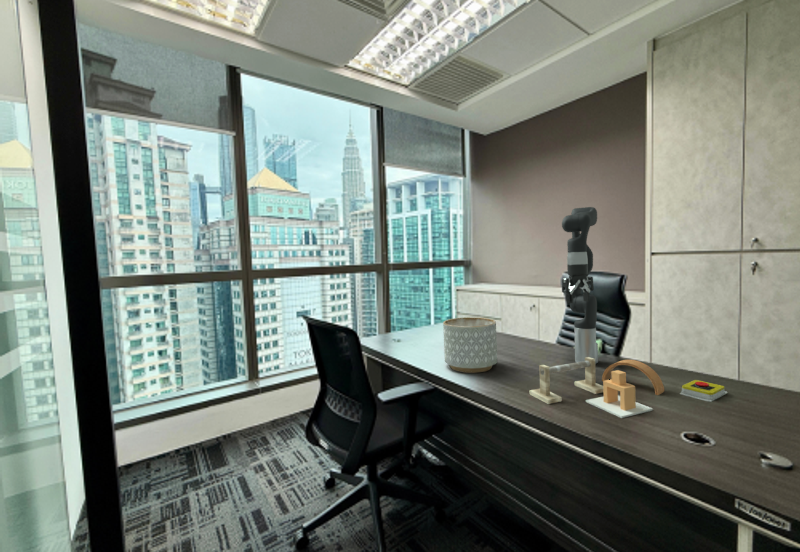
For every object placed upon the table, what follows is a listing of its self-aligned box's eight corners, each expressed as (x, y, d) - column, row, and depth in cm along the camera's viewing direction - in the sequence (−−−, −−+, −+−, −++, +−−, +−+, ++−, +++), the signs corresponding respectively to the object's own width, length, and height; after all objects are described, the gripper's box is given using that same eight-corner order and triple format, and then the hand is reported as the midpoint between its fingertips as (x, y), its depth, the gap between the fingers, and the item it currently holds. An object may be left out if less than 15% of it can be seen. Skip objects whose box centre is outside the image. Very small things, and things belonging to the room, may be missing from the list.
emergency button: (678, 383, 129) (697, 375, 136) (678, 395, 129) (697, 386, 136) (710, 391, 120) (728, 381, 128) (710, 403, 121) (728, 393, 128)
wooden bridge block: (614, 399, 125) (613, 367, 125) (635, 407, 117) (635, 374, 117) (603, 401, 123) (602, 369, 123) (624, 410, 116) (623, 376, 115)
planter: (435, 364, 178) (433, 321, 177) (474, 356, 190) (472, 315, 189) (466, 378, 156) (464, 329, 155) (508, 368, 167) (507, 321, 166)
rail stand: (586, 383, 143) (585, 354, 143) (607, 391, 134) (606, 360, 133) (529, 394, 135) (528, 363, 134) (548, 404, 125) (547, 371, 124)
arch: (657, 395, 128) (657, 369, 128) (601, 381, 145) (601, 357, 144) (664, 391, 131) (664, 365, 131) (608, 378, 148) (608, 355, 147)
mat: (614, 395, 130) (614, 393, 130) (652, 410, 116) (652, 408, 116) (585, 401, 125) (585, 400, 125) (621, 418, 112) (621, 416, 112)
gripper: (583, 262, 150) (584, 300, 151) (556, 264, 145) (557, 302, 146) (598, 262, 143) (599, 301, 143) (570, 264, 138) (571, 304, 139)
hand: (578, 302), depth 145 cm, fingers open, 8 cm apart
